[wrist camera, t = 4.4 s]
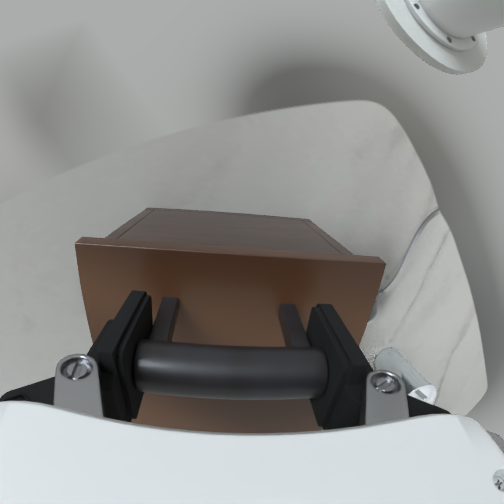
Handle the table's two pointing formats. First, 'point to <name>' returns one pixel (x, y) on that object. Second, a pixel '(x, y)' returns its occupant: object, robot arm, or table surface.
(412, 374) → the milkshake
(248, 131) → the table surface
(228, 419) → the lid
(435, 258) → the table surface
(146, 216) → the chest
